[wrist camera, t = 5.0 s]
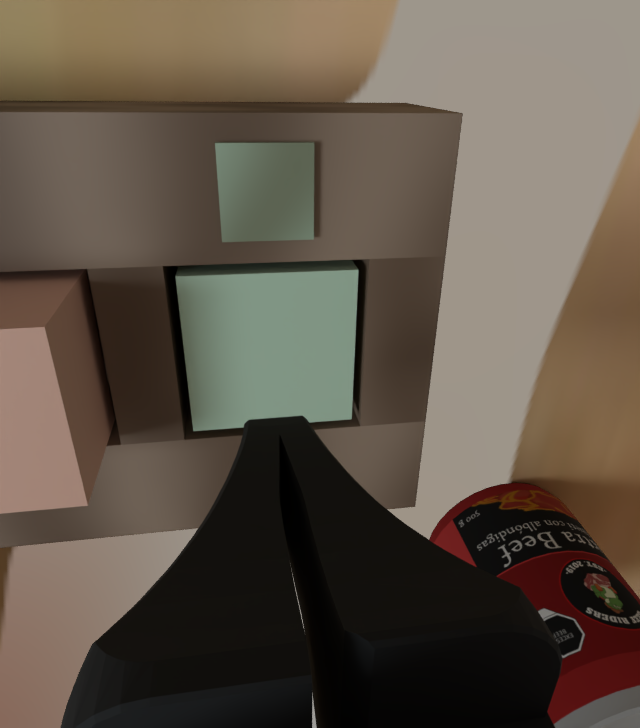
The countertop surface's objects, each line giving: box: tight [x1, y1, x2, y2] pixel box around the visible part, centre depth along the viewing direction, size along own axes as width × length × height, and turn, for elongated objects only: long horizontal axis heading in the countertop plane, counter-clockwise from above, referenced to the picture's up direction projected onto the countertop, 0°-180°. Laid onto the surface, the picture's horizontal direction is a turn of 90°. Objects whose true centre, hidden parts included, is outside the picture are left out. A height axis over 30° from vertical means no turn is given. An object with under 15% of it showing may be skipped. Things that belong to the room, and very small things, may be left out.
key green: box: [175, 260, 359, 431], centre depth 18 cm, size 5×5×4 cm
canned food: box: [429, 483, 640, 728], centre depth 24 cm, size 8×8×11 cm
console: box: [0, 101, 463, 548], centre depth 17 cm, size 25×13×5 cm, turn 89°
